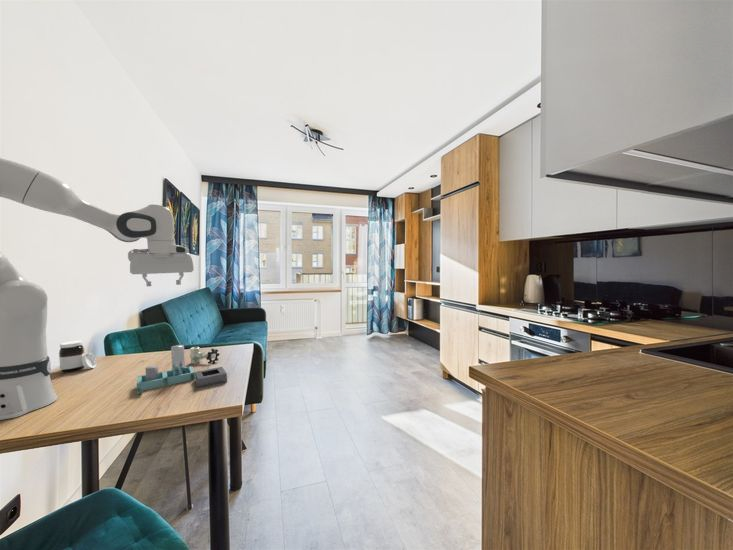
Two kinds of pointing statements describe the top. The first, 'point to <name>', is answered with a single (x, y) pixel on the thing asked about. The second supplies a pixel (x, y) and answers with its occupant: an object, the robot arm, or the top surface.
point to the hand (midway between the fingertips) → (164, 285)
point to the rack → (162, 378)
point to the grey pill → (178, 360)
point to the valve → (203, 355)
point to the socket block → (210, 377)
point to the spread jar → (75, 357)
